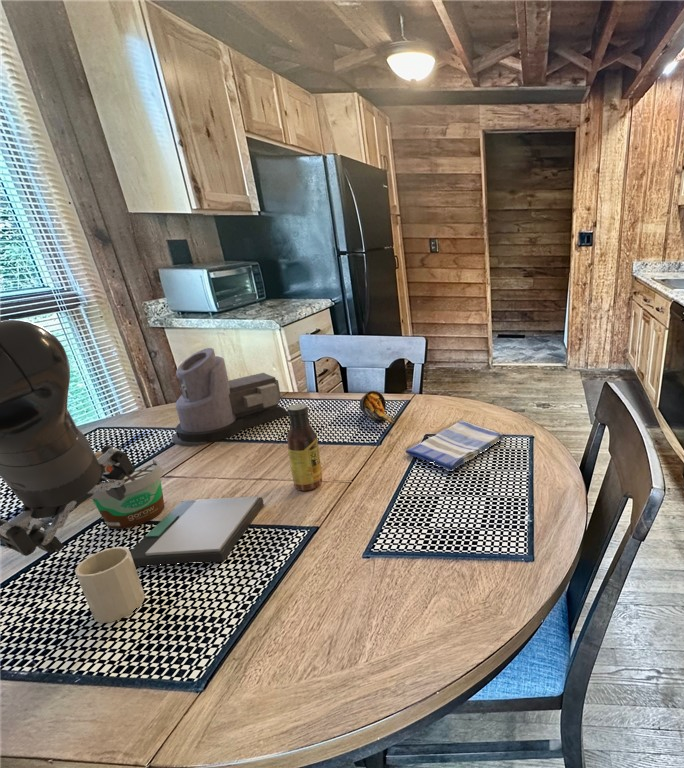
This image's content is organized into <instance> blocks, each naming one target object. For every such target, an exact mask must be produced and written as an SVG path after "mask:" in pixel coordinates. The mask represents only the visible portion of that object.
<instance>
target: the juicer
mask: <svg viewBox="0 0 684 768" xmlns="http://www.w3.org/2000/svg"><path fill="white" fill-rule="evenodd" d="M175 375H176V378H177V380H178V383H179V388H180V391H181V395H180V396H179V397H178V399H177V400H176V402H175V404H174V405H175V409H176V413H177V416H178V417H177V418H178V421H179V423H178V424H177V425H176V427H175V433H174V434H173V436H172V437H171V441H172V442H173V443H174V444H175V445H178V446H181V447H199V446H203V445H206V444H210V443H214V442H215V443H216V442H219V441H223V440H225V439H229V438H232V437H233V436H235V435H237V434H239V433H240V432H242V431H244V430H247V429H251V428H254V427H257V426H261V425H263V424H266V423H270V422H273V421H275V420H279V419H282V418H284V417H287V416H288V417H289V414H288V410H286V409H285V408H283V407H282V406H281V405H279V404H280V401H281V400H282V397H281V389H280V384H279V380H278V379H277V378H276V377H275V376H272V375H270V374H267V373H265V372H260V373H256V374H252V375H247V376H243V377H238V378H233V379H230V380H229V376H228V372H227V368H226V363H225V359H224V358H223V357H222V356H218V355H216V354H215V350H214V348H212V347H206V348H203V349H201V350H199V351H196V352H194V353H193V354H191V355H190V356H188V357H187V358H186V359H185V360H184V361H182V362H181V364H180V365H179V366H178V367H177V369H176V371H175Z"/></svg>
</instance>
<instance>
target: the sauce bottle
mask: <svg viewBox="0 0 684 768" xmlns="http://www.w3.org/2000/svg"><path fill="white" fill-rule="evenodd" d="M286 411H288V414H289V415H288V417H289V426H290V428H289V430H288V431H287V434H286V442H287V452H288V457H289V464H290V471H291V477H292V482H293V485H294V488H295V489H296V490H298V491H301V492H303V491H305V492H306V491H312V490H314V489H316V488H318V487H319V486H321V484H322V483H323V472H322V471H323V470H322V462H321V456H320V448H319V441H318V435H317V434H316V431H315V430H314V429H313V427H312V425H311V424H310V421H309V408H308V405H307V404H305V403H297V404H293V405H292V404H291V405H290V406H288V407H287V410H286Z"/></svg>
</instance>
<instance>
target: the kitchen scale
mask: <svg viewBox="0 0 684 768" xmlns="http://www.w3.org/2000/svg"><path fill="white" fill-rule="evenodd" d="M263 507H264V500H263V497H259V496H239V497H238V496H237V497H235V496H234V497H216V498H215V497H214V498H197V499H196V500H195V499H194V500H182V501H180V502H179V503H178V504H177V505H176V506H175V507H174V508H173V509H172V510H171V511H170V512H169V513H168V514H167V515H166V516H164V517H163V519H161V521H160V522H158V524H156V525H155V526H154V527H153V528H152V529H151V530H150V531H149V532H148V533H147V534H146V535H145V536H144V537H143V538H142V539H141V540H140V541H139V542H138V543H137V544H136V545H135V546H133V547H132V549H131V550H129V551H130V553H131V556H132V559H133V562H134V564H135V567H136V566H147V565H160V564H161V565H164V564H177V563H189V562H215V563H224V562H225V560H226V559H227V558H228V556H229V555H230V554H231V552H232V550H234V548H235V546H236V545H237V543H238V542H239V541H240V539H241V538H242V536H243V535H244V534H245V532H246V531H247V529H248V528H249V527H250V525H251V524H252V522H253V521H254V519H255V518H256V516H257V515H258V514H259V512H260V511H261V510H262V508H263ZM223 561H224V562H223ZM136 568H137V567H136Z"/></svg>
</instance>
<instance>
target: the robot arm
mask: <svg viewBox="0 0 684 768" xmlns="http://www.w3.org/2000/svg"><path fill="white" fill-rule="evenodd" d="M70 382H71V367H70V361H69V357H68V354H67V351H66V349H65V347H64V345H63V344H62V342H61V341H60V340H59V339H58V338H57V337H56V335H54V334H53V333H52V332H50V331H49V330H48V329H47V328H45V327H43V326H41V325H39V324H36V323H35V322H31V321H28V320H23V319H5V320H0V478H1V479H2V480H3V481H4V483H5V484H6V485H7V486H8V487H9V489H10V490H11V492H13V494H15V496H16V497H17V498H18V499H19V501H20V502H21V503H22V504H23V506H22V511H21V513H19V514H18V515H16V516H15V517H13V518H12V519H10V520H6V519H0V541H1V542H2V543H3V544H4V546H5V547H6V548H8V549H9V550H10V549H11V550H13V551H15V552H18V553H19V554H21V555H22V556H25V557H29V556H30V555H31V554H33V553H34V552H35V551H36V549H37V548H39V549H40V550H42V551H44V552H46V553H49V554H51V553H53V552H54V551H55V552H60V551H62V550H63V549H64V548H65V546H64V544H63V543H62V542H61V540H59V538H58V537H57V536H56V533H57V531H58V530H59V529H61V528H63V527H64V526H65V523H66V521H67V519H68V517H69V515H70V514H71V513H72V512H73V511H74V510H76V509H77V508H78V507H79V506H80V505H81V504H83V503H84V502H86V501H87V500H89V498H90V497H91V496H93V493H95V492H99V491H106V492H107V494H108V495H109V496H111V497H113V498H115V499H117V500H119V501H121V500H122V499H123V498H125V495H124V493H126V488H125V486H124V484H123V483H124V480H123V479H124V478H125V476H126V475H127V476H130V475H132V474H133V473H134V471H136V468H135V467H134V465H133V463H132V461H131V460H130V458H129V456H128V454H127V452H125V451H123V450H121V449H119V448H118V447H115V446H113V445H111V444H106V445H104V446H103V447H102V448H101V451H100V452H102V453H103V455H102V456H100V457H99V458H98V459H96V457H95V455H94V453H95V452H94V451H93V450H92V447H91V445H90V441H89V440H88V438H87V437H86V435H84V433H83V432H82V431H81V430H80V429H79V428H78V427H77V423H76V422H75V421H74V418H73V416H72V415H71V413H70V411H69V408H68V404H69V390H70ZM105 465H110V466H111V467H112V468H113V470H112V471H111V472H110V473H108V472H107V473H104V471H105V467H104V466H105ZM41 528H42V529H41Z"/></svg>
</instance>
